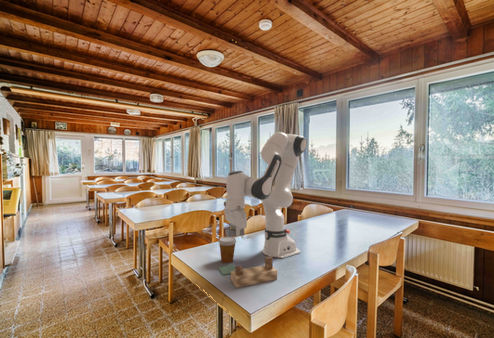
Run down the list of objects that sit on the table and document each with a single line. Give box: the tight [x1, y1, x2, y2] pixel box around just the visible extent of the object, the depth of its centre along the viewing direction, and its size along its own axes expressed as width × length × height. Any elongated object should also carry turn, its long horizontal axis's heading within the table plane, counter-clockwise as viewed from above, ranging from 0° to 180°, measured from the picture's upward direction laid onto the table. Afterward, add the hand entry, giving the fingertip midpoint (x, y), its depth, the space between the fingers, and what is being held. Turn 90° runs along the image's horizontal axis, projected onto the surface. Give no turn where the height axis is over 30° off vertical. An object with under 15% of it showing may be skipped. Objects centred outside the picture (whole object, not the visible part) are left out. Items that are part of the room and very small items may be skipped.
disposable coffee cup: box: [218, 236, 237, 264], centre depth 125 cm, size 10×10×12 cm
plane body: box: [229, 256, 278, 289], centre depth 105 cm, size 21×7×9 cm, turn 113°
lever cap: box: [224, 226, 245, 237], centre depth 111 cm, size 8×4×4 cm, turn 114°
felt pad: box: [217, 264, 236, 276], centre depth 114 cm, size 8×8×1 cm
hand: (235, 233), depth 111 cm, fingers closed on lever cap, 4 cm apart
